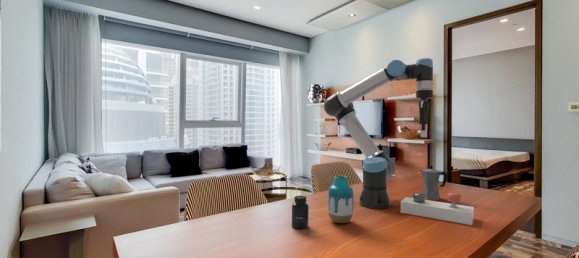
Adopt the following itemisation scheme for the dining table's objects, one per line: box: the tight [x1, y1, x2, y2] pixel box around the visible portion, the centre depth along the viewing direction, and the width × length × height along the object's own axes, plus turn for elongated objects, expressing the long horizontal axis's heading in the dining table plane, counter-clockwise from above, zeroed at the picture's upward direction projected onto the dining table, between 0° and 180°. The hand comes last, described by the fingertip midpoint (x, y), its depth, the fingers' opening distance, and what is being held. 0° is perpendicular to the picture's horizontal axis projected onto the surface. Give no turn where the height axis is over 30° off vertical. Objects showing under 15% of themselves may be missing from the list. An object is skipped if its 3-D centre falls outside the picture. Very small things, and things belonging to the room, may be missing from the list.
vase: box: [327, 175, 354, 224], centre depth 118 cm, size 11×11×19 cm
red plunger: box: [447, 192, 462, 209], centre depth 122 cm, size 5×5×8 cm
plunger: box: [412, 192, 426, 203], centre depth 131 cm, size 5×5×8 cm
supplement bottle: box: [291, 195, 310, 230], centre depth 113 cm, size 7×7×12 cm
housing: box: [400, 196, 475, 226], centre depth 127 cm, size 28×10×5 cm, turn 54°
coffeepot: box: [419, 165, 449, 201], centre depth 154 cm, size 15×9×18 cm, turn 37°
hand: (423, 137), depth 142 cm, fingers closed
